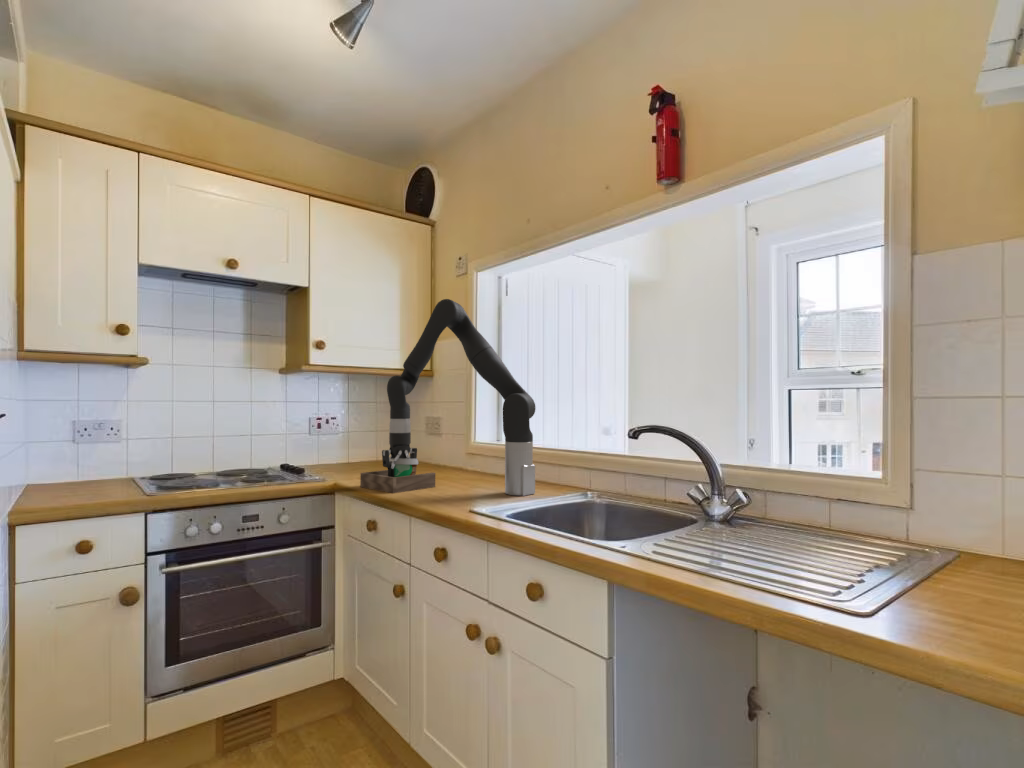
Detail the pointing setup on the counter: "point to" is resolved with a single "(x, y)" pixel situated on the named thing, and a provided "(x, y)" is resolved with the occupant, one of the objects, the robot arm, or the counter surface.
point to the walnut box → (396, 481)
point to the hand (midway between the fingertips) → (399, 477)
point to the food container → (405, 467)
